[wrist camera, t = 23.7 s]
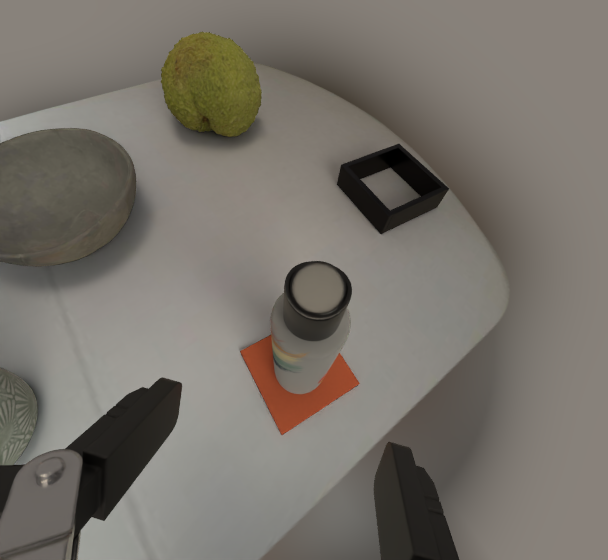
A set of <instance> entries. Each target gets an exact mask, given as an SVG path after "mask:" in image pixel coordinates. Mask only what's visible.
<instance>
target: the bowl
mask: <svg viewBox="0 0 608 560" xmlns="http://www.w3.org/2000/svg"><path fill="white" fill-rule="evenodd" d="M135 195H136V174H135V169H134V165H133V162H132V160H131V158H130V156H129V154H128V153H127V152H126V150H125V149H124V148H123V147H122V146H121V145H120V144H118V143H117V142H116V141H114V140H112V139H110V138H109V137H107V136H105V135H102V134H100V133H98V132H95V131H92V130H87V129H78V128H60V129H48V130H40V131H36V132H31V133H27V134H24V135H21V136H18V137H15V138H12V139H10V140H7V141H5V142H2V143H0V262H5V263H10V264H16V265H23V266H50V265H58V264H63V263H67V262H72V261H75V260H78V259H81V258H83V257H85V256H88V255H89V254H91V253H93V252H94V251H96V250H98V249H99V248H101V247H102V246H104V245H106V244H107V243H108V242H110V241H111V240H112V239H113V238H114V237H115V236H116V235H117V234H118V233H119V232H120V230H121V229H122V227H123V226H124V224H125V222H126V221H127V219H128V217H129V215H130V212H131V210H132V207H133V204H134V200H135Z"/></svg>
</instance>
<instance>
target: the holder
mask: <svg viewBox="0 0 608 560" xmlns="http://www.w3.org/2000/svg"><path fill="white" fill-rule="evenodd" d="M390 167H391V168H392V169H393V170H394V171H395V172H396V173H397V174H398V175H399V176H400V177H402V178H403V179H404V180H405V181H406V182H407V183H408V184H409V185H410V186H411V187H412V188H413V189H414V190H415V191H416V192H417V193H418V194H419V195H420V196H421V197H419V198H417V199H415V200H413V201H410V202H408V203H406V204H404V205H402V206H399V207H397V208H395V209H393V210H391V211H390V210H389V209H388V208H387V207H386V206H385V205H384V204H383V203H382V202H381V201H380V200H379V199H378V198H377V197H376V196H375V194H374V193H373V192H372V191H371V190H370V189H369V188H368V187H367V186H366V185H365V184H364V183H363V182H362V181H361V180H360V179H362V178H364V177H367V176H369V175H372V174H374V173H377V172H380V171H382V170H385V169H387V168H390ZM337 185H338V186H339V187H340V188H341V190H342V191H343V192H344V193H345V194H346V195H347V196H348V197H349V199H350V200H351V201H352V202H353V203H354V204H355V205H356V206H357V208H358V209H359V210H360V211H361V212H362V213H363V214H364V216H365V217H366V218H367V219H368V220H369V221H370V222H371V223H372V225H373V226H374V227H375V228H376V229H377V230H378V231H379V232H380V234H382V233H384V232H386V231H388V230H390V229H393V228H395V227H397V226H399V225H401V224H403V223H405V222H407V221H409V220H411V219H413V218H416V217H418V216H420V215H422V214H424V213H426V212H428V211H430V210H432V209H434V208H436V207H438V205H439V204H440V202H441V201H442V199H443V197H444V196H445V194H446V193H447V191H448V190H449V188H448V187H447V186H446V185H444V184H443V183H442V182H441V181H440V180H439V179H438V178H437V177H436V176H434V175H433V174H432V173H431V172H430V171H429V170H428V169H427V168H426V167H424V166H423V165H422V164H421V163H420V162H419V161H418V160H417V159H415V158H414V157H413V156H412V155H411V154H410V153H409V152H408V151H407V150H405V149H404V148H403V147H402V146H401V145H400V144H397V145H394V146H391V147H389V148H386V149H383V150H380V151H378V152H375V153H372V154H370V155H367V156H364V157H361V158H359V159H356V160H353V161H350V162H348V163H345V164H342V165H341V168H340V173H339V177H338V182H337Z"/></svg>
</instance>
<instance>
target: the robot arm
mask: <svg viewBox="0 0 608 560" xmlns="http://www.w3.org/2000/svg"><path fill="white" fill-rule="evenodd" d="M181 391H182V384H181V383H180V382H177V381H173V380H170V379H166V378H160V379H159V380H158V381H156V382H155V383H154V384H153V385H152V386H151V387H150V388H149V389H147V388H144V387H142V388H140V389H138V390H136V391H134V392H131V393H129V394H128V395H126V396H125V397H124V398H123V399H122V400H121V401H120V402H118V403H117V404H116V406H114V407H113V408H111V409H110V410H109V411H108V412H107V414H106V415H103V416H102V417H101V418H100V419H99V420H98V421H97V422H95V423H94V424H93V425H92V426H91V427H90V428H89V429H87V430H86V431H85V432H84V433H83V434H82V435H81V436H79V437H78V438H77V439H76V440H75V441H74V442H73V443H71V444H70V445H69V446H68V447H67V448H65V449H59V450H54V451H50V452H47V453H44V454H42V455H39V456H37V457H36V458H34V459H32V460H31V461H29V462H28V463H27V464H26V465H0V560H78V552H79V544H80V536H81V529H82V528H83V527H84V526H85V524H86V523H87V522H88V521H89V519H90V518H91V517H94V518H97V519H100V520H103V521H104V520H105V519H106V518H107V516H108V515H109V514H110V512H111V511H112V510H113V509H114V507H115V506H116V505H117V503H118V502H119V501H120V499H121V498H122V497H123V495H124V494H125V493H126V491H127V490H128V489H129V487H130V486H131V485H132V483H133V482H134V481H135V480H136V478H137V477H138V476H139V474H140V473H141V472H142V470H143V469H144V468H145V466H146V465H147V464H148V462H149V461H150V460H151V458H152V457H153V456H154V455H155V453H156V452H157V451H158V449H159V448H160V447H161V445H162V444H163V443H164V441H165V440H166V439H167V437H168V436H169V435H170V433H171V432H172V430H173V429H174V427H175V424H176V422H177V419H178V414H179V406H180V398H181ZM374 499H375V507H376V517H377V526H378V535H379V545H380V554H381V560H459V557H458V554H457V551H456V548H455V545H454V542H453V540H452V536H451V533H450V530H449V527H448V524H447V521H446V518H445V516H444V515H443V509H442V506H441V503H440V502H439V497H438V494H437V491H436V488H435V485H434V483H433V481H432V479H431V478H430V477H429V475H428V474H427V472H426V471H425V469H424V468H422V467H419V466H416V465H415V461H414V458H413V454H412V451H411V449H410V448H409V447H406V446H402V445H398V444H395V443H391V442H388V443H387V445H386V447H385V450H384V453H383V456H382V458H381V461H380V464H379V466H378V469H377V472H376V475H375V480H374Z"/></svg>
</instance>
